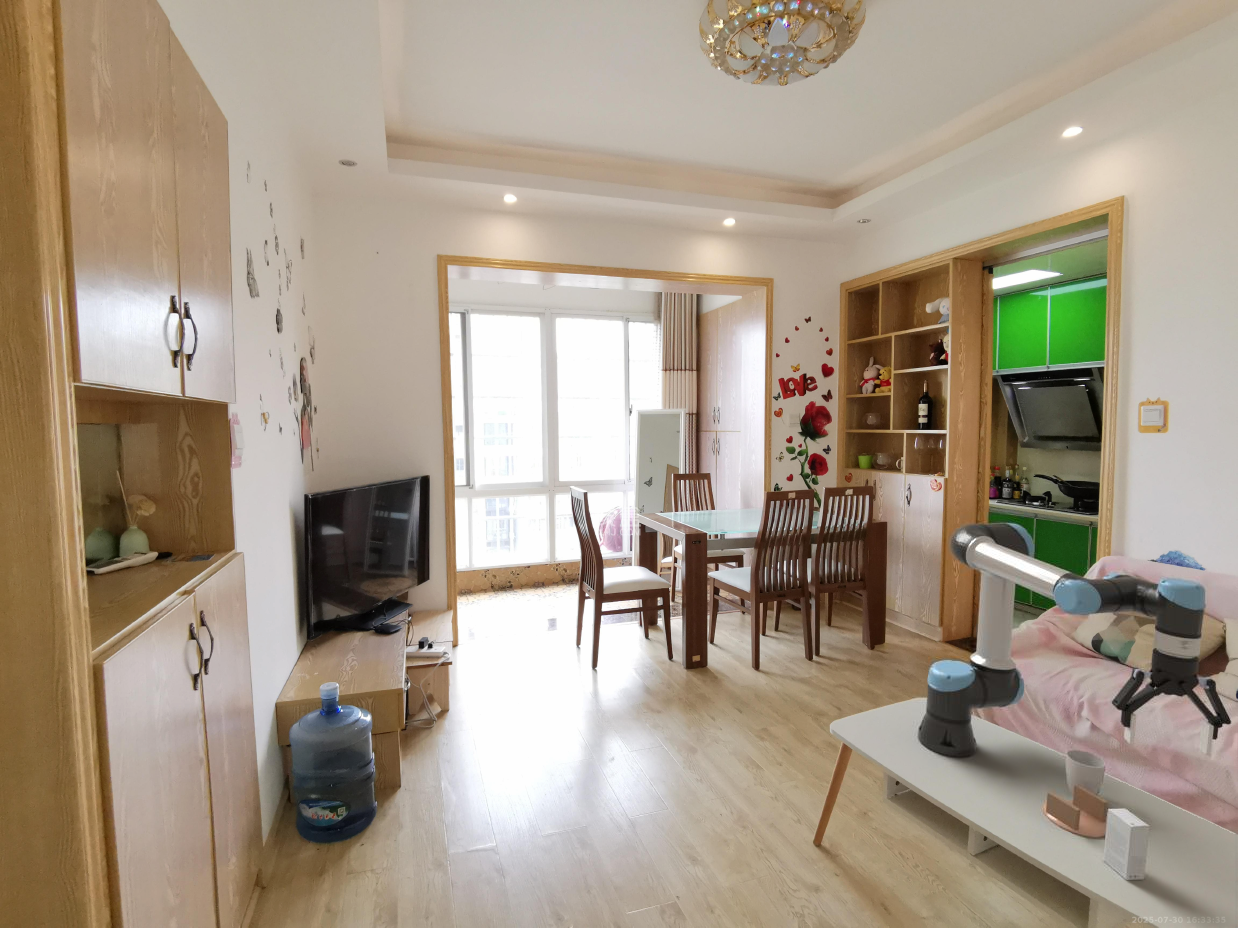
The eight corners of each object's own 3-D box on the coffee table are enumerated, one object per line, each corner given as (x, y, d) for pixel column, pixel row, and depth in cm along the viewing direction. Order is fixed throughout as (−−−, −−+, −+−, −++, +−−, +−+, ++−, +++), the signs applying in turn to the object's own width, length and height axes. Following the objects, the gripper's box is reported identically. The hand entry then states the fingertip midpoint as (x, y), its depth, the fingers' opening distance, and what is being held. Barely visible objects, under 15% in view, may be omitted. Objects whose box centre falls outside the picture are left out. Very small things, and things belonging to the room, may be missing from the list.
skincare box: (1145, 879, 132) (1150, 826, 131) (1126, 880, 132) (1131, 826, 131) (1120, 858, 138) (1125, 807, 137) (1101, 859, 138) (1106, 808, 137)
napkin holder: (1030, 807, 155) (1031, 786, 155) (1067, 797, 160) (1069, 776, 159) (1084, 842, 143) (1086, 819, 143) (1123, 830, 147) (1125, 808, 147)
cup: (1108, 807, 156) (1112, 769, 155) (1072, 802, 158) (1075, 764, 157) (1091, 788, 164) (1095, 751, 163) (1056, 783, 165) (1059, 747, 164)
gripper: (1114, 650, 136) (1105, 744, 138) (1260, 666, 128) (1249, 766, 130) (1099, 638, 143) (1091, 728, 145) (1237, 653, 135) (1227, 747, 137)
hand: (1166, 746), depth 137 cm, fingers open, 13 cm apart
